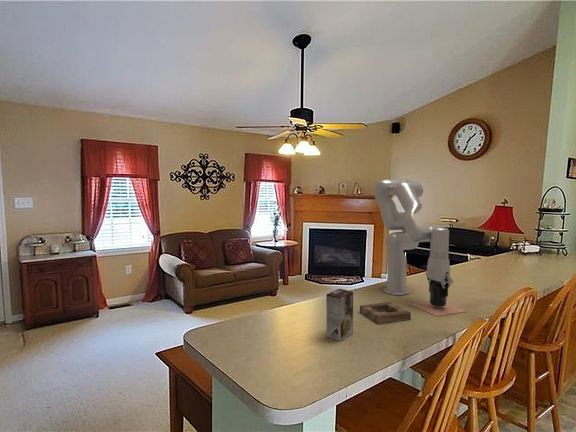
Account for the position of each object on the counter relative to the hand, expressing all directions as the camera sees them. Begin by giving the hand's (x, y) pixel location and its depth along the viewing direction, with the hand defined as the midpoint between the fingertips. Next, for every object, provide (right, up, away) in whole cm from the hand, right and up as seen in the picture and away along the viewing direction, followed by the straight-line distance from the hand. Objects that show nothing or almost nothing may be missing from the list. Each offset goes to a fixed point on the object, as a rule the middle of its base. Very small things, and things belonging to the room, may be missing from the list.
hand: (438, 294), depth 157 cm
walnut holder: (-27, -7, -8) cm, 29 cm away
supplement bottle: (0, -5, 0) cm, 5 cm away
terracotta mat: (0, -7, 0) cm, 7 cm away
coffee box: (-48, -9, -28) cm, 57 cm away
